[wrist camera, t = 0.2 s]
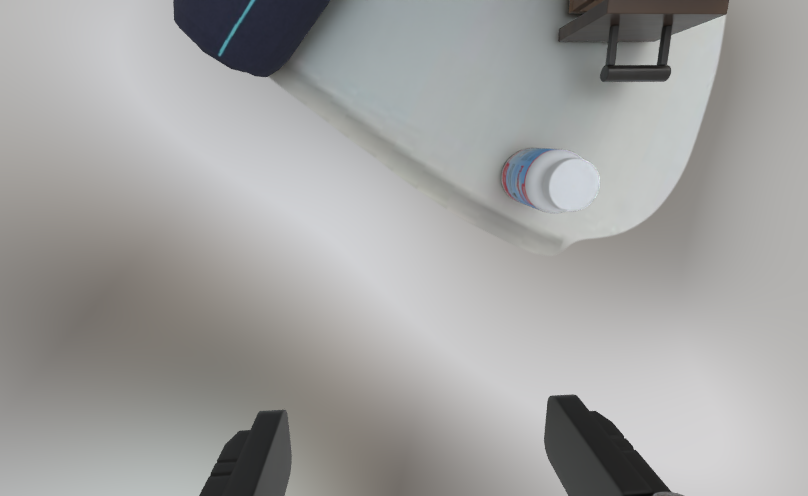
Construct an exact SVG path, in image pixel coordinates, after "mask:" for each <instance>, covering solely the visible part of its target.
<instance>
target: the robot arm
mask: <svg viewBox="0 0 808 496" xmlns="http://www.w3.org/2000/svg"><path fill="white" fill-rule="evenodd" d="M544 443H545V449H546V453H547V456H548V459H549V461H550V463H551V465H552V466H553V468H554V470H555V472H556V474H557V476H558V477H559V479H560V481H561V483H562V485H563V486H564V488H565V489H566V492H567V494H568V496H683V495H680V494H677V493H673V492H671V491H670V490H669V488H668V487H667V486H666V485H665V484H664V483H663V481H662V480H661V479H660V478H659V477H658V476H657V475H656V473H655V472H654V471H653V470H652V468H651V467H650V466H649V465H648V464H647V463H646V461H645V460H644V459H643V458H642V457H641V456H640V454H639V453H638V452H637V451H636V450H634V449H633V446H632V445H631V444H630V443H629V441H628V440H626V439H624V436H623V434H622V433H621V432H620V431H619V430H618V429H617V428H616V426H615V425H614V424H613V423H612V422H611V421H610V420H608V419H606V418H605V417H604V416H602V415H601V414H599V413H598V412H596V411H589V410H588V409H587V408H586V406H585V405H584V404H583V403H582V401H581V400H580V399H579V398H578V397H577V396H576V395H557V396H550V397H549V398H548V403H547V413H546V424H545V436H544ZM290 470H291V445H290V434H289V425H288V417H287V412H286V410H272V411H260V412H259V413H258V415H257V417H256V419H255V421H254V424H253V426H252V428H251V430H246V431H239V432H238V433H237V434H236V435H235V436H234V437H233V438H232V439H231V440H230V441H229V442H227V443H226V445H225V446H224V448H223V450H222V452H221V454H220V456H219V458H218V460H217V463H216V464H215V466H214V468H213V470H212V472H211V476H210V477H209V478H208V480H207V482H206V484H205V486H204V487H203V489H202V492H201V494H200V495H199V496H284V495H285V492H286V488H287V484H288V480H289V476H290Z"/></svg>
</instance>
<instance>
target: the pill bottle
mask: <svg viewBox="0 0 808 496" xmlns="http://www.w3.org/2000/svg"><path fill="white" fill-rule="evenodd" d="M501 180H502V185H503V188H504V190H505V192H506V193H507V194H508V196H510V197H511V198H512V199H514V200H516V201H518V202H520V203H523V204H526V205H528V206H531V207H533V208H536V209H538V210H541V211H544V212H548V213H562V212H565V211H578V210H581V209H583V208H585V207H587V206H588V205H589V204H590V203H591V202H592V201H593V200H594V199H595V197H596V196H597V194H598V191H599V187H600V177H599V173H598V171H597V169H596V168H595V166H594V165H593V164H592V163H590V162H589V161H587V160H584V159H582V158H581V157H580V156H579V155H578V154H576V153H574V152H572V151H569V150H563V149H540V148H528V149H523V150H521V151H518V152H517V153H515V154H514V155H512V156H511V157H510V158H509V159H508V161H507V162H506V163H505V165H504V167H503V170H502V176H501Z"/></svg>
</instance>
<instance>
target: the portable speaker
mask: <svg viewBox="0 0 808 496" xmlns="http://www.w3.org/2000/svg"><path fill="white" fill-rule="evenodd" d="M329 1H330V0H174V20H175V22H176V24H177V25H178V26H179V28H180V29H181V30H182V31H183V32H184V33H185V34H186V35H187V36H188V37H190V38H191V40H192V41H193V42H195V43H196V44H197V45H198V46H199V48H200V49H201V50H202V51H203V52H205V53H206V54H208V55H210V56H211V57H213V58H215V59H216V60H218V61H219V62H221V63H222V64H224V65H226V66H227V67H229V68H231V69H234V70H239V71H242V72H247V73H250V74H252V75H254V76H260V77H268V76H269V75H271V74H272V73H274V72H276V71H277V70H279V69H280V68H281V67H282V66H283V65H284V64H285V63H286V62H287V61H288V60H289V59H290V57H291V56H292V54H293V53H294V51H295V50H296V49H297V47H298V46H299V44H300V43H301V41H302V40H303V39H304V37H305V36H306V34H307V33H308V31H309V30H310V29H311V27H312V26H313V24H314V23H315V21H316V20H317V19H318V17H319V16H320V14H321V13H322V11H323V10H324V9H325V7H326V6H327V4H328V3H329Z"/></svg>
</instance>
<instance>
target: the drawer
mask: <svg viewBox="0 0 808 496" xmlns="http://www.w3.org/2000/svg"><path fill="white" fill-rule="evenodd" d="M728 3H729V0H570V4H569V13H570V14H582V15H581V16H579V17H577V18H576V19H574V20H573V21H571V22H570V23H568V24H567V25H565V26H564V27H562V28H560V30H559V42H608V48H607V58H606V66H604V67H603V68H602V70H601V74H600V79H601V81H602V82H664V81H666V80H667V79H668V78H669V76H670V74H671V68H670V66H668V65H667V61H668V54H669V46H670V39H671V35H673V34H675V33H678V32H681V31H683V30H686V29H689V28H691V27H694V26H696V25H699V24H702V23H704V22H707V21H710V20H712V19H715V18H717V17H720V16H723V15H725V14H727V9H728ZM660 39H661V40H660ZM657 40H660V47H659V54H658V62H657V65H615V59H616V50H617V42H654V41H657Z"/></svg>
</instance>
